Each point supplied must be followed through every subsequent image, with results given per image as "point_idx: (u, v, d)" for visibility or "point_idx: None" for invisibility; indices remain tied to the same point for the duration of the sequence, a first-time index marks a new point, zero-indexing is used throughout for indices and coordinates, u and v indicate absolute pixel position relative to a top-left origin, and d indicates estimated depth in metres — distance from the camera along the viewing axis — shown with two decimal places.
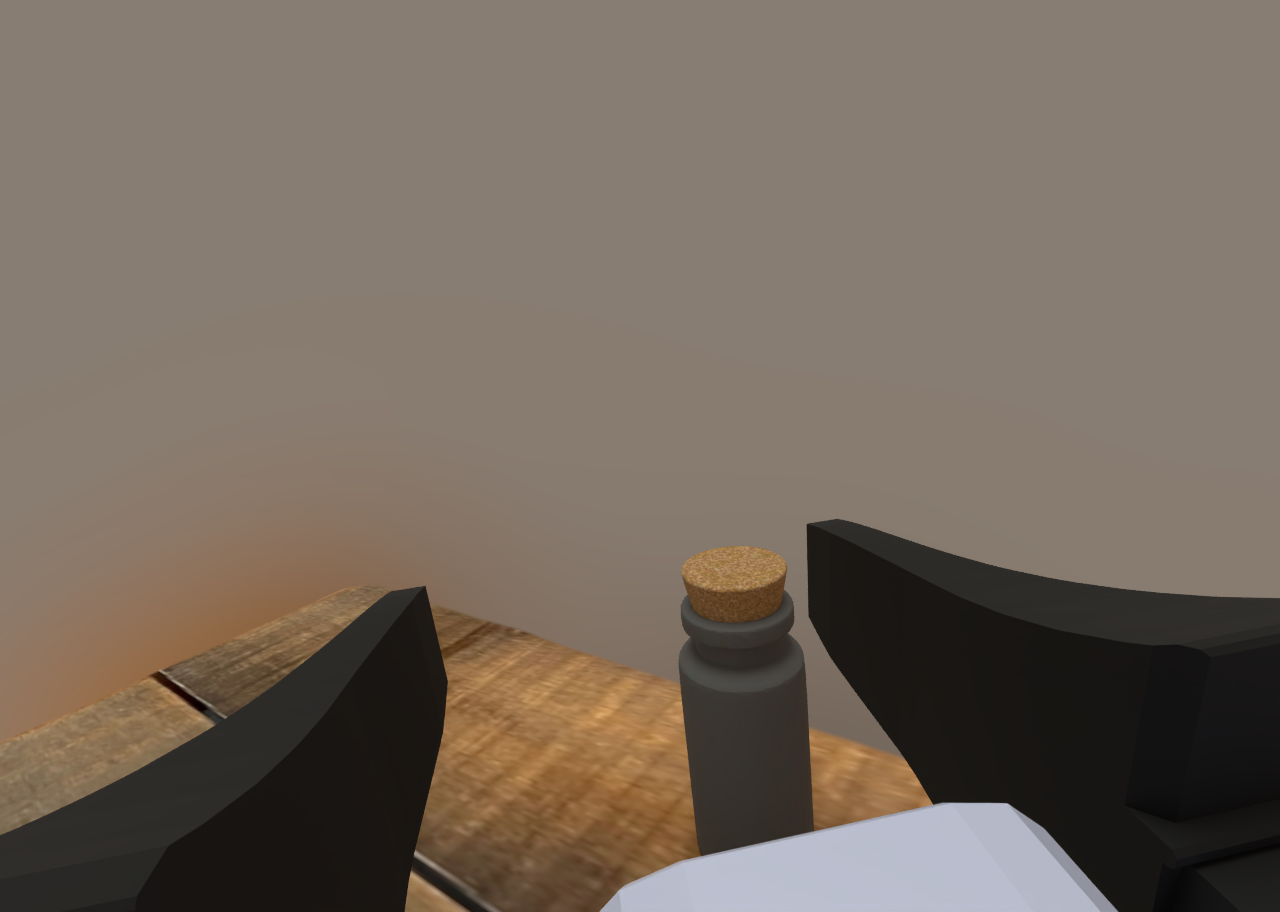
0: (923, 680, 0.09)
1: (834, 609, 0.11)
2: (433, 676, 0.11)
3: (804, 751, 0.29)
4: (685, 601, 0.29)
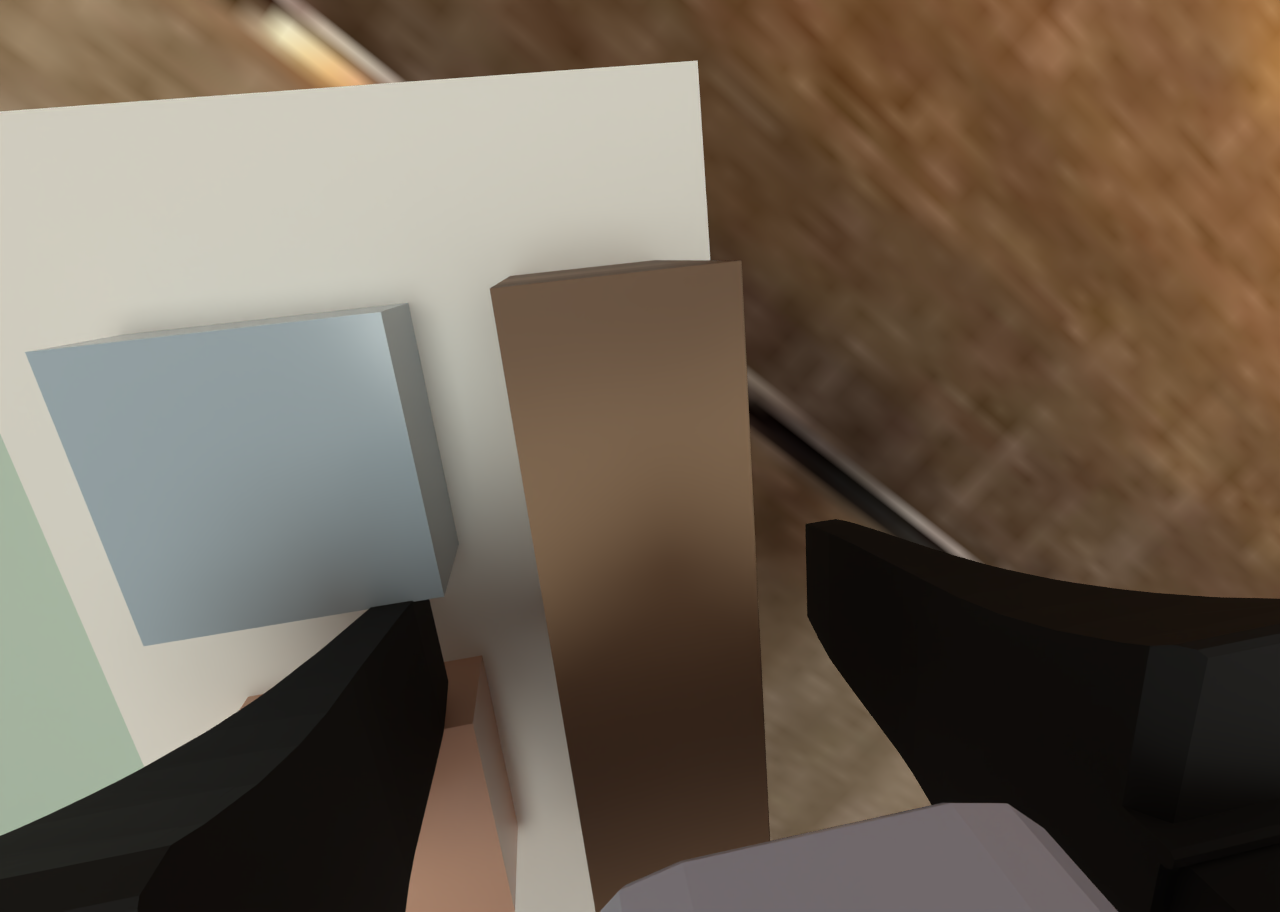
0: (922, 680, 0.09)
1: (833, 610, 0.11)
2: (434, 676, 0.11)
3: None
4: None
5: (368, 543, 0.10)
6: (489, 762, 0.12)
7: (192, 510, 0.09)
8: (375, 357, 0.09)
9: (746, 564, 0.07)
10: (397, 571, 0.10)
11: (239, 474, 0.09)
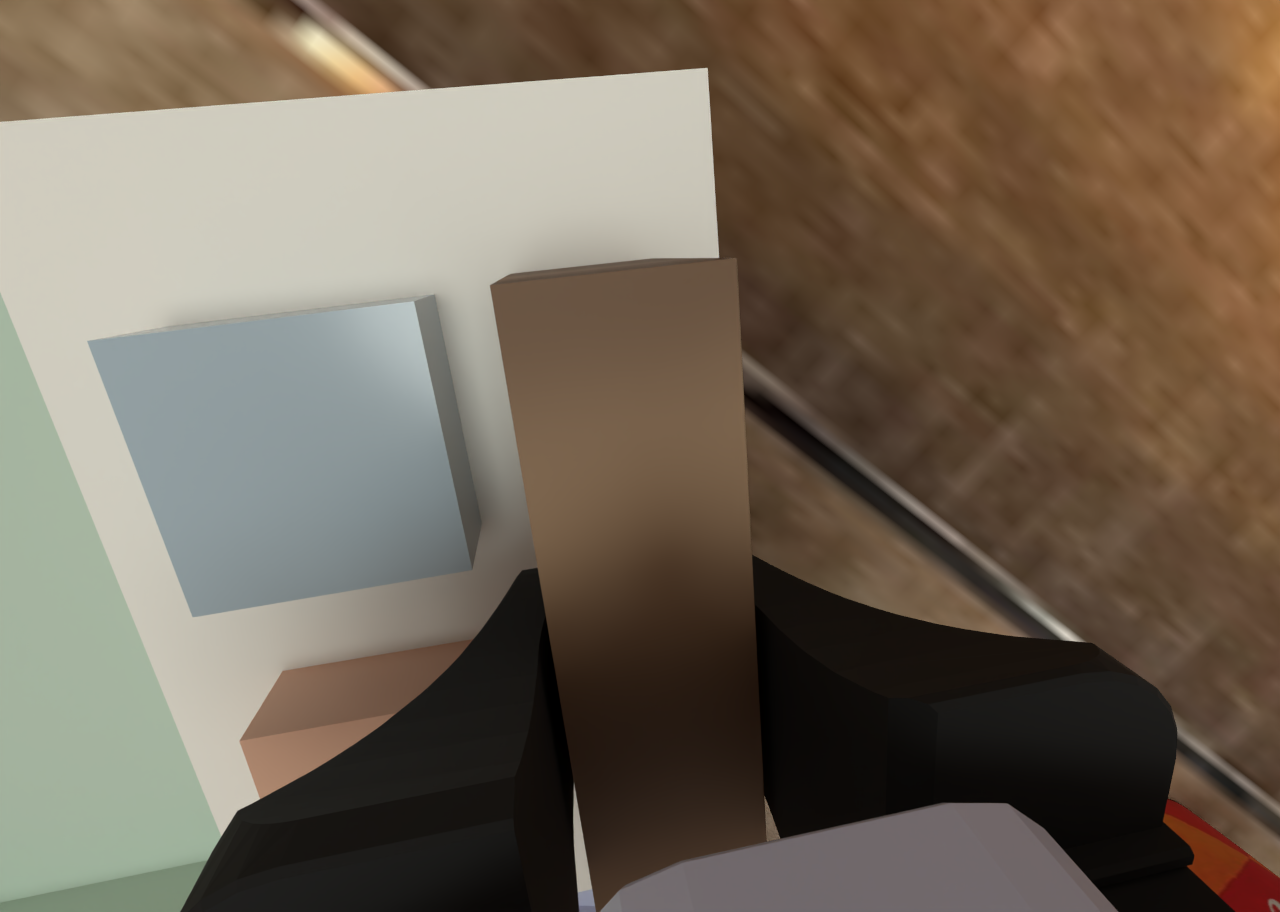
0: (766, 711, 0.09)
1: None
2: None
3: None
4: None
5: (401, 520, 0.10)
6: None
7: (239, 488, 0.10)
8: (409, 344, 0.10)
9: (742, 557, 0.08)
10: (428, 546, 0.11)
11: (282, 454, 0.10)
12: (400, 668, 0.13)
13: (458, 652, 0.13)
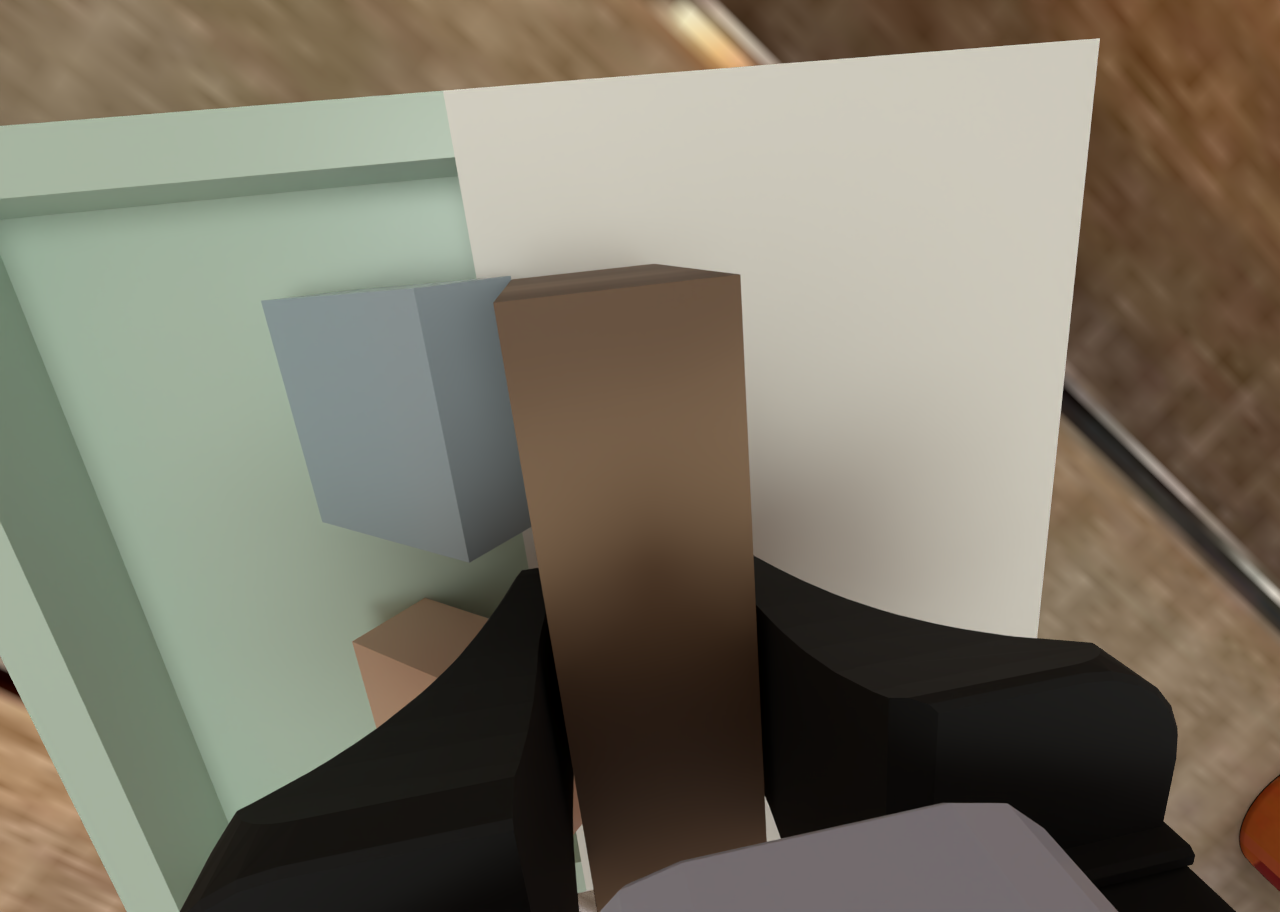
0: (766, 711, 0.09)
1: None
2: None
3: None
4: None
5: (421, 495, 0.11)
6: None
7: (333, 432, 0.12)
8: (413, 330, 0.10)
9: (744, 569, 0.08)
10: (438, 526, 0.11)
11: (351, 412, 0.11)
12: None
13: None
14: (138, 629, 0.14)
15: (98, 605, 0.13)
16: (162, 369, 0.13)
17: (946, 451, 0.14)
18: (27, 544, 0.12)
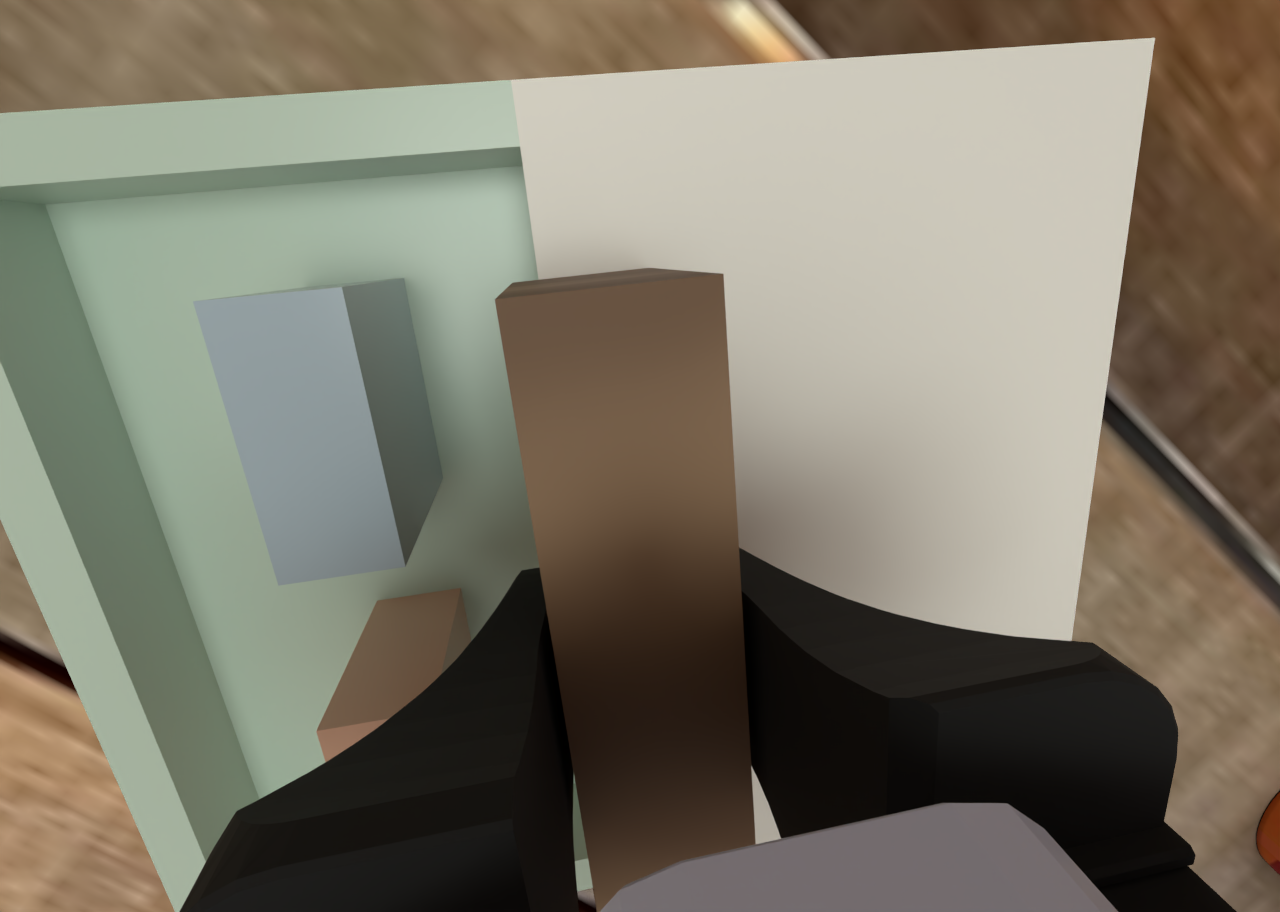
0: (766, 711, 0.09)
1: None
2: None
3: None
4: None
5: None
6: None
7: None
8: None
9: (730, 551, 0.08)
10: None
11: None
12: (417, 650, 0.13)
13: (418, 682, 0.12)
14: (182, 615, 0.14)
15: (146, 590, 0.13)
16: None
17: (991, 446, 0.14)
18: (83, 527, 0.12)
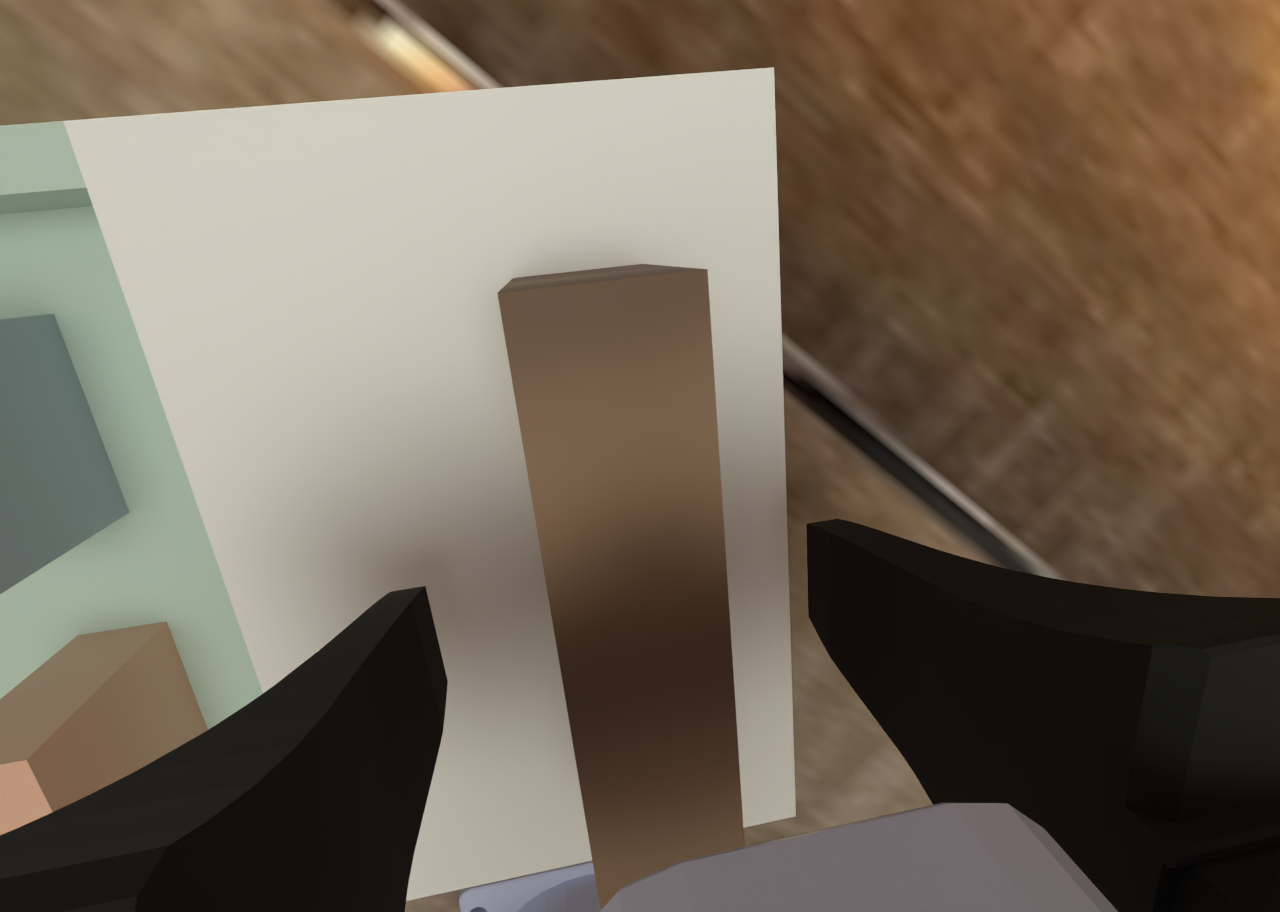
0: (923, 680, 0.09)
1: (834, 609, 0.11)
2: (433, 676, 0.11)
3: None
4: None
5: None
6: None
7: None
8: None
9: (715, 527, 0.09)
10: None
11: None
12: (67, 692, 0.13)
13: (39, 727, 0.12)
14: None
15: None
16: None
17: None
18: None
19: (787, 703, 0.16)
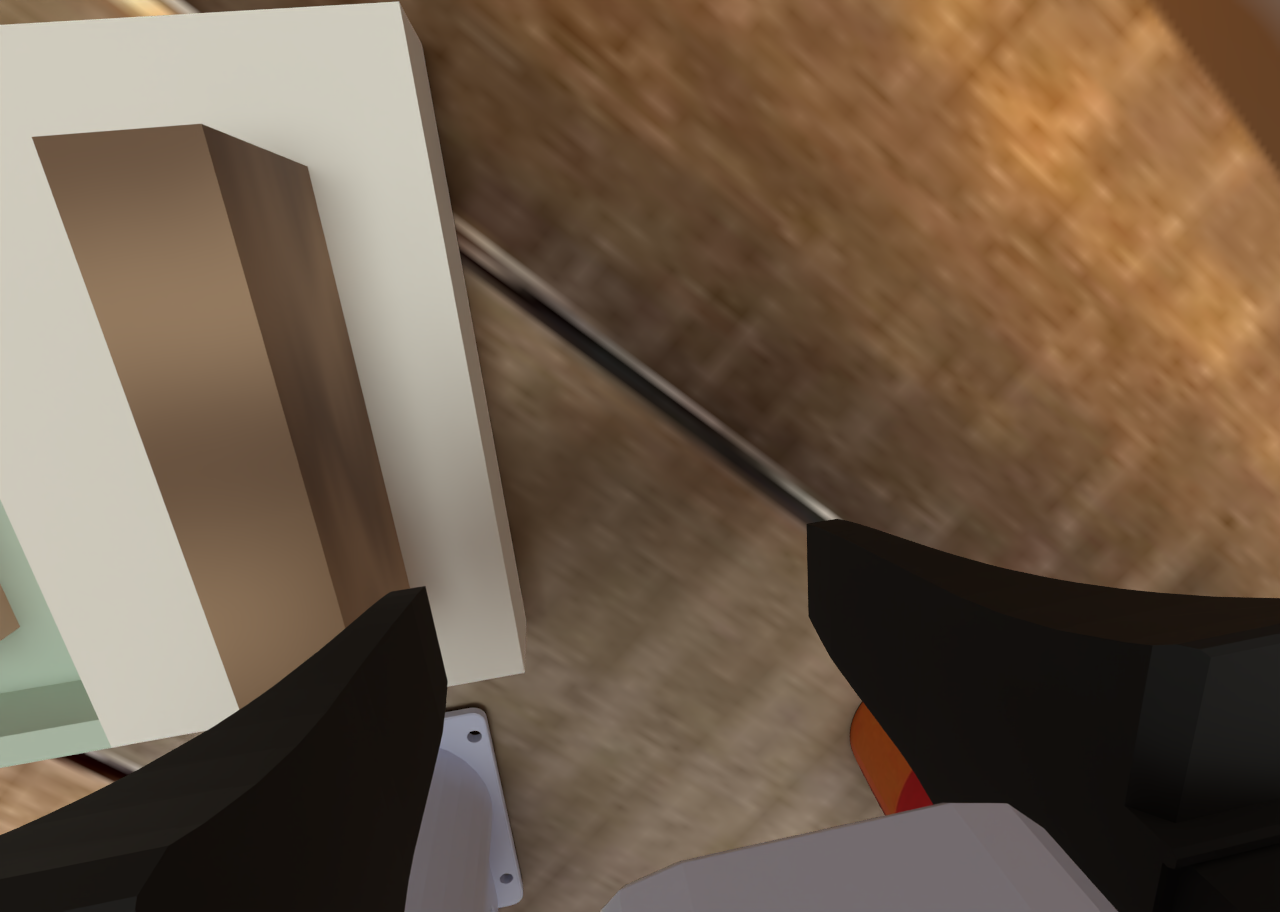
0: (923, 680, 0.09)
1: (835, 610, 0.11)
2: (433, 676, 0.11)
3: None
4: None
5: None
6: None
7: None
8: None
9: (254, 336, 0.11)
10: None
11: None
12: None
13: None
14: None
15: None
16: None
17: (357, 356, 0.16)
18: None
19: (500, 565, 0.19)
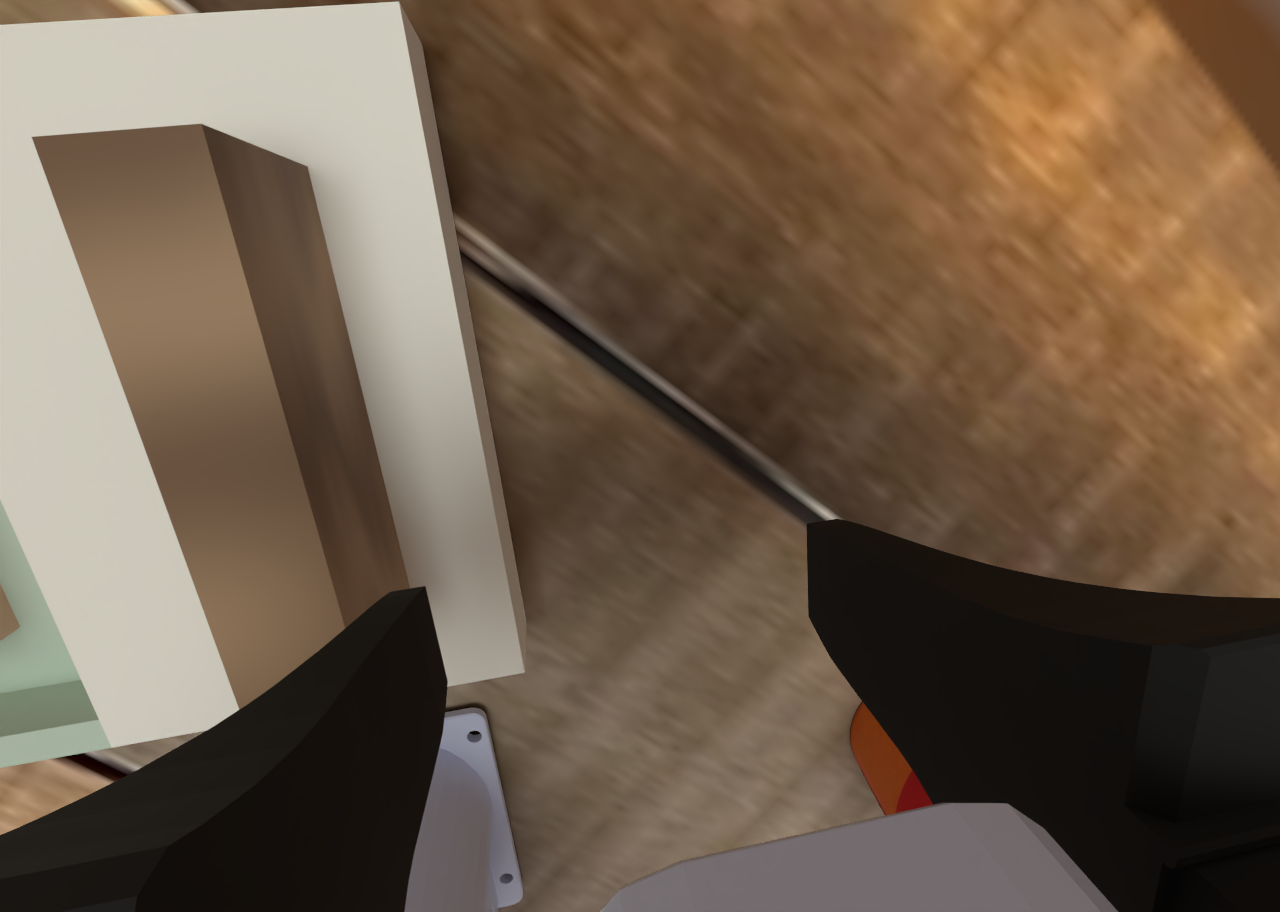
0: (923, 680, 0.09)
1: (835, 610, 0.11)
2: (433, 676, 0.11)
3: None
4: None
5: None
6: None
7: None
8: None
9: (254, 336, 0.11)
10: None
11: None
12: None
13: None
14: None
15: None
16: None
17: (357, 356, 0.16)
18: None
19: (500, 565, 0.19)
